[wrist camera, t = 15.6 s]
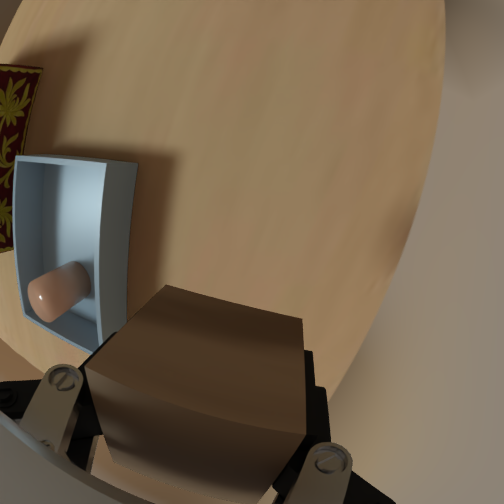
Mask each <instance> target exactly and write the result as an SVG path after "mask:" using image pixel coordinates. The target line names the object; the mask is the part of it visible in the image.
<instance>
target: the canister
mask: <svg viewBox="0 0 504 504" xmlns="http://www.w3.org/2000/svg"><path fill="white" fill-rule="evenodd" d="M90 292H91V281H90V277H89V275H88V273H87V271H86V269H85V268H84V267H83V266H82V265H81V264H80V263H78V262H76V261H70V262H68V263H66V264H64V265H62V266H60V267H58V268H56V269H54V270H52V271H50V272H48V273H46V274H44V275H42V276H40V277H38V278H36V279H34V280H33V281H31V282H30V283H29V285H28V297H29V301H30V303H31V306H32V308H33V310H34V311H35V313H36V314H37V315H38V316H39V317H40V318H41V319H42V320H43V321H45V322H52V321H54V320H55V319H56V318H58V317H59V316H61V315H62V314H63V313H65V312H66V311H68V310H69V309H70V308H72V307H73V306H75V305H76V304H77V303H79V302H80V301H82V300H83V299H85V298H86V297H87V296H88V295H89V294H90Z"/></svg>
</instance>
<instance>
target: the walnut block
mask: <svg viewBox="0 0 504 504" xmlns="http://www.w3.org/2000/svg"><path fill="white" fill-rule="evenodd" d="M85 371H86V376H87V380H88V384H89V388H90V392H91V396H92V399H93V403H94V407H95V410H96V413H97V417H98V420H99V423H100V426H101V429H102V432H103V435H104V438H105V441H106V443H107V446H108V449H109V451H110V454H111V456H112V459H113V461H114V462H115V463H117V464H119V465H122V466H123V467H126V468H128V469H130V470H132V471H135V472H137V473H139V474H142V475H144V476H147V477H149V478H152V479H155V480H157V481H160V482H163V483H165V484H168V485H171V486H174V487H177V488H181V489H184V490H187V491H191V492H194V493H198V494H201V495H205V496H209V497H214V498H217V499H222V500H226V501H231V502H237V503H242V504H257V503H258V501H259V500H260V499H261V497H262V496H263V495H264V494H265V492H266V491H267V490H268V489H269V487H270V486H271V485H272V484H273V482H274V481H275V480H276V478H277V477H278V475H279V474H280V473H281V471H282V470H283V469H284V467H285V466H286V464H287V463H288V461H289V460H290V458H291V457H292V456H293V454H294V453H295V451H296V450H297V448H298V446H299V445H300V443H301V442H302V440H303V439H304V437H305V436H306V392H305V363H304V341H303V323H302V319H301V318H296V317H292V316H287V315H283V314H278V313H274V312H270V311H265V310H261V309H257V308H253V307H249V306H245V305H241V304H236V303H233V302H229V301H225V300H221V299H217V298H213V297H209V296H206V295H202V294H198V293H194V292H191V291H187V290H184V289H180V288H177V287H173V286H170V285H165V286H164V287H163V288H162V289H161V290H160V291H159V292H158V293H157V294H156V295H155V296H153V297H152V298H151V299H150V300H149V301H148V302H147V303H146V304H145V305H144V306H143V307H142V308H141V309H140V310H139V311H138V312H137V313H136V314H135V315H134V316H133V317H132V318H131V319H130V320H129V321H128V322H127V323H126V324H125V325H124V326H123V327H122V328H121V329H120V330H119V331H118V332H117V333H116V334H115V335H114V336H113V337H112V338H111V339H110V340H109V341H108V342H107V343H106V344H105V345H104V346H103V347H102V349H101V350H100V351H99V352H98V353H97V354H96V355H95V356H94V357H93V358H92V359H91V360H90V361H89V362H88V363H87V364H86V365H85Z"/></svg>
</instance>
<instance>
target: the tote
mask: <svg viewBox="0 0 504 504" xmlns="http://www.w3.org/2000/svg"><path fill="white" fill-rule="evenodd" d="M137 169H138V163H132V162H124V161H116V160H108V159H99V158H89V157H78V156H67V155H53V154H35V155H16V157H15V167H14V180H13V243H14V256H15V266H16V274H17V282H18V289H19V295H20V300H21V306H22V311H23V316H24V317H26V318H27V319H29V320H30V321H32V322H33V323H35V324H37V325H38V326H40V327H42V328H43V329H45V330H46V331H48V332H50V333H52V334H53V335H55V336H57V337H58V338H60V339H62V340H64V341H66V342H67V343H69V344H71V345H73V346H75V347H77V348H79V349H81V350H83V351H85V352H87V353H89V354H92V353H93V352H94V351H95V350H96V349H97V348H98V347H99V346H100V345H101V344H102V343H103V342H104V341H105V340H106V339H107V338H108V337H109V336H110V335H111V334H112V333H114V332H118V331H119V330H120V329H121V328H122V327H123V326H124V325H125V324H126V323H127V270H128V251H129V237H130V225H131V215H132V206H133V197H134V190H135V182H136V176H137ZM70 261H76V262H78V263H80V264H81V265H82V266H83V267H84V268H85V269H86V271H87V273H88V275H89V277H90V281H91V292H90V294H89V295H88V296H87V297H86V298H85V299H83V300H82V301H80V302H79V303H77V304H76V305H75V306H73V307H72V308H70V309H69V310H68V311H66V312H65V313H63V314H62V315H61V316H59V317H58V318H56V319H55V320H54V321H52V322H45V321H43V320H42V319H41V318H40V317H39V316H38V315H37V314H36V313H35V311H34V310H33V308H32V306H31V303H30V301H29V297H28V285H29V283H30V282H31V281H33V280H34V279H36V278H38V277H40V276H42V275H44V274H46V273H48V272H50V271H52V270H54V269H56V268H58V267H60V266H62V265H64V264H66V263H68V262H70Z"/></svg>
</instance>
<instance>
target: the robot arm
mask: <svg viewBox="0 0 504 504" xmlns="http://www.w3.org/2000/svg"><path fill="white" fill-rule="evenodd" d="M116 333H117V332H114V333H112V334H111V335H110V336H109V337H108V338H107V339H106V340H105V341H104V342H103V343H102V344H101V345H100V346H99V347H98V348H97V349H96V350H95V351H94V352H93V353H92V354H91V355H90V356H89V357H88V358H87V359H86V360H85V362H84V363H83V364H82V365H81V366H80V367H79V368H78V369H77V368H76V367H74V366H72V365H68V364H58V365H55V366H53V367H51V368H49V369H48V370H47V372H46V373H45V375H44V377H43V378H42V379H40V380H26V381H4V382H0V504H154V503H152V502H149V501H147V500H144V499H142V498H139V497H137V496H134V495H132V494H130V493H127V492H125V491H123V490H121V489H118V488H116V487H114V486H112V485H110V484H108V483H106V482H104V481H102V480H100V479H98V478H96V477H95V476H93V475H91V469H92V464H93V459H94V455H95V451H96V446H97V442H98V438H99V435H103V432H102V429H101V426H100V423H99V420H98V417H97V413H96V410H95V407H94V403H93V399H92V396H91V392H90V388H89V384H88V380H87V376H86V371H85V365H86V364H87V363H88V362H89V361H90V360H91V359H92V358H93V357H94V356H95V355H96V354H97V353H98V352H99V351H100V350H101V349H102V347H103V346H104V345H105V344H106V343H107V342H108V341H109V340H110V339H111V338H112V337H113V336H114V335H115V334H116ZM304 363H305V392H306V436H305V437H304V439H303V440H302V442H301V443H300V445H299V446H298V448H297V450H296V451H295V453H294V454H293V456H292V457H291V458H290V460H289V461H288V463H287V464H286V466H285V467H284V469H283V470H282V471H281V473H280V474H279V475H278V477H277V478H276V480H275V481H274V482H273V484H272V487H273V488H274V489H275V490H276V491H277V492H278V493H277V495H276V497H275V499H274V500H273V503H272V504H396V503H395V502H394V501H393V500H392V499H391V498H389V497H388V496H386V495H385V494H383V493H382V492H380V491H379V490H378V489H376V488H375V487H373V486H372V485H371V484H369V483H368V482H367V481H365V480H364V479H363V478H361V477H360V476H359V475H357V474H356V473H354V472H353V471H352V462H353V460H352V457H351V454H350V453H349V452H348V451H347V450H346V449H345V448H344V447H343V446H341V445H338V444H336V443H332V442H331V436H330V424H329V413H328V404H327V394H326V389H325V388H324V387H319V386H315V374H314V362H313V352H312V351H308V350H304Z"/></svg>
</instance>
